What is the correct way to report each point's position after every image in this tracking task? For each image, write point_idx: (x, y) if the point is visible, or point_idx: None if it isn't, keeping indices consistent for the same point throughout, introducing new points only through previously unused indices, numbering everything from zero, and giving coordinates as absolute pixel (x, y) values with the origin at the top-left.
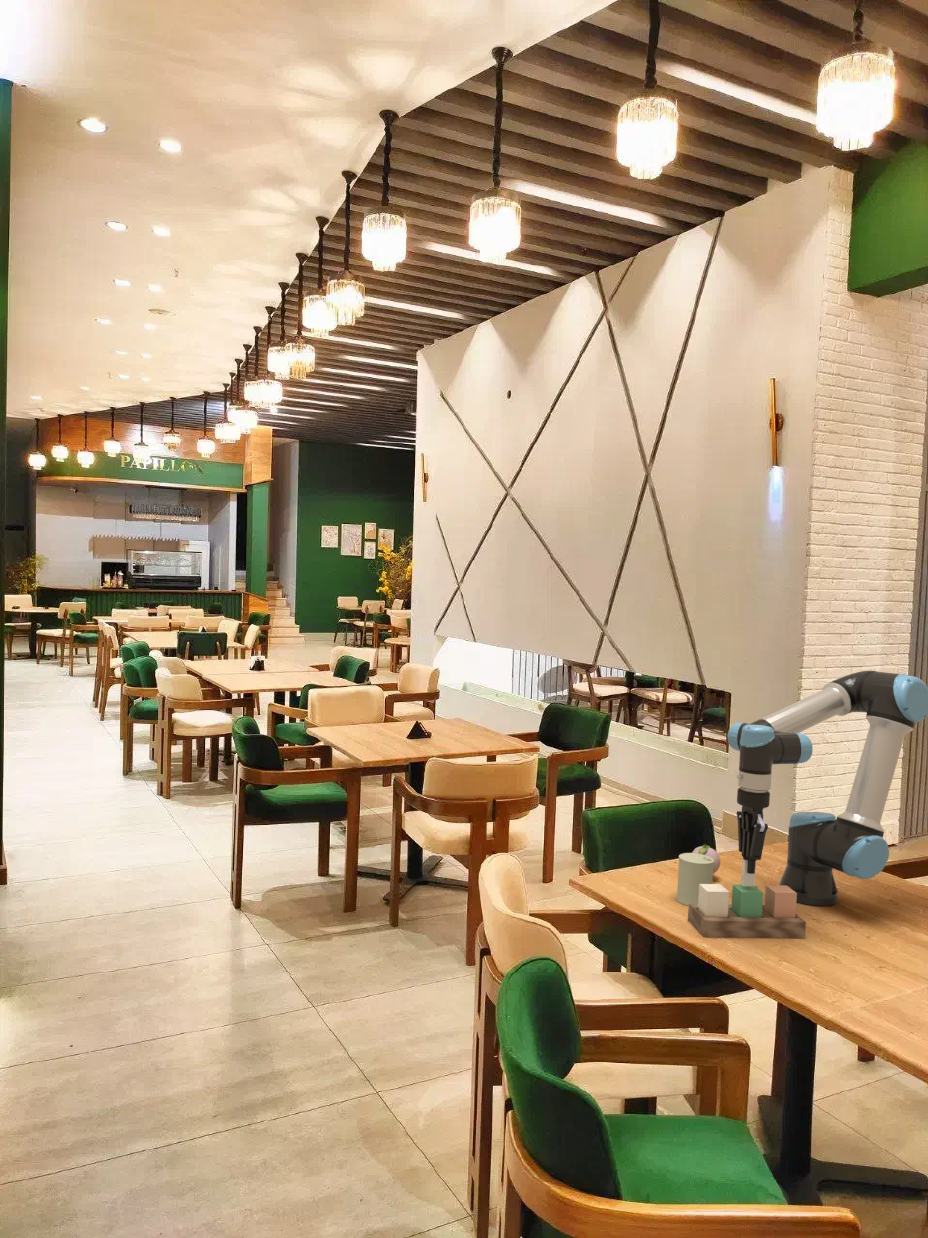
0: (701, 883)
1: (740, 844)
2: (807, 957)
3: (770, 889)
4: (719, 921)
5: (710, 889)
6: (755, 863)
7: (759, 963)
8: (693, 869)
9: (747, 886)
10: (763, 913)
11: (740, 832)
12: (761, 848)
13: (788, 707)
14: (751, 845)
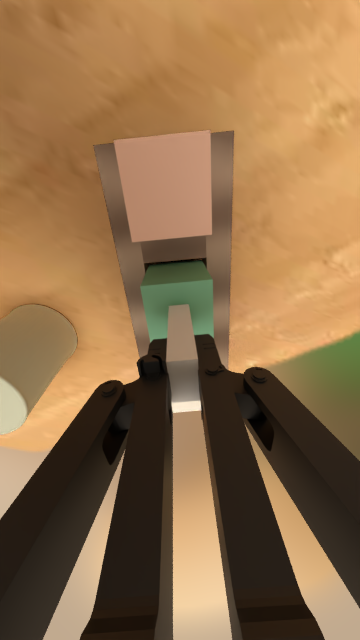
0: (50, 360)
1: (119, 457)
2: (325, 192)
3: (171, 238)
4: (228, 353)
5: (200, 401)
6: (195, 348)
7: (329, 303)
8: (36, 400)
9: (160, 311)
10: (177, 248)
11: (76, 560)
12: (328, 439)
13: None
14: (290, 490)
